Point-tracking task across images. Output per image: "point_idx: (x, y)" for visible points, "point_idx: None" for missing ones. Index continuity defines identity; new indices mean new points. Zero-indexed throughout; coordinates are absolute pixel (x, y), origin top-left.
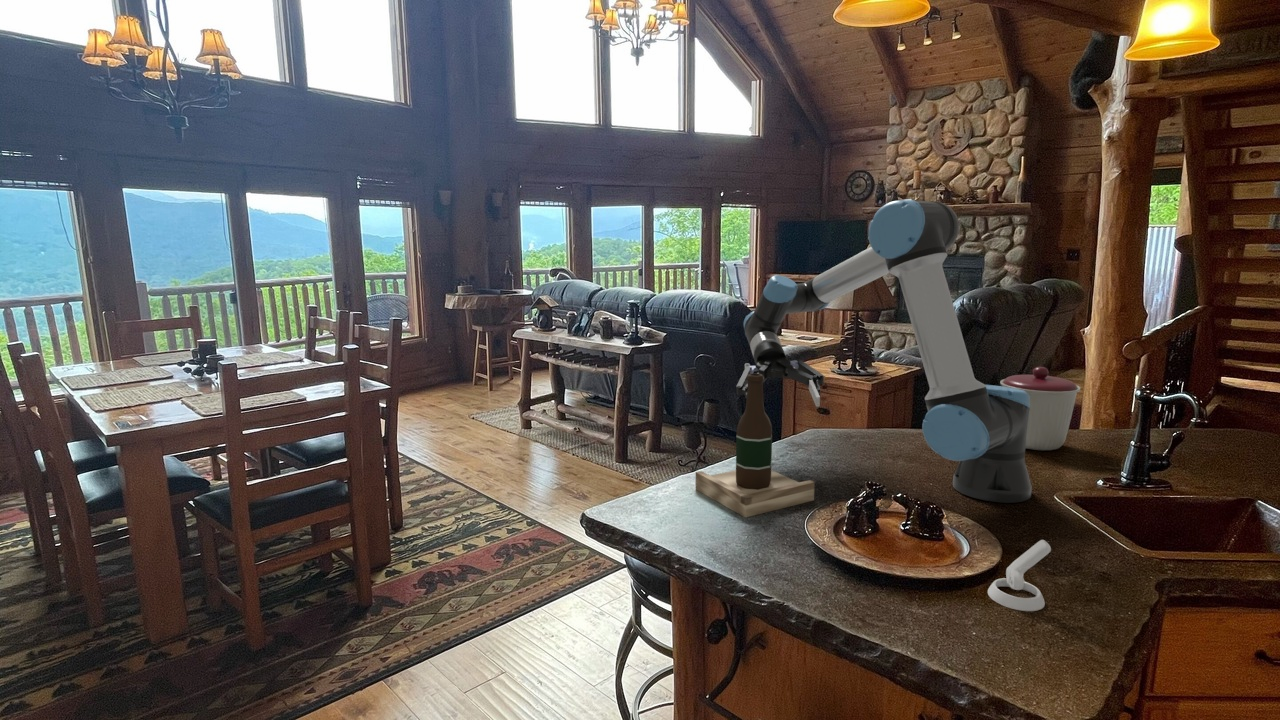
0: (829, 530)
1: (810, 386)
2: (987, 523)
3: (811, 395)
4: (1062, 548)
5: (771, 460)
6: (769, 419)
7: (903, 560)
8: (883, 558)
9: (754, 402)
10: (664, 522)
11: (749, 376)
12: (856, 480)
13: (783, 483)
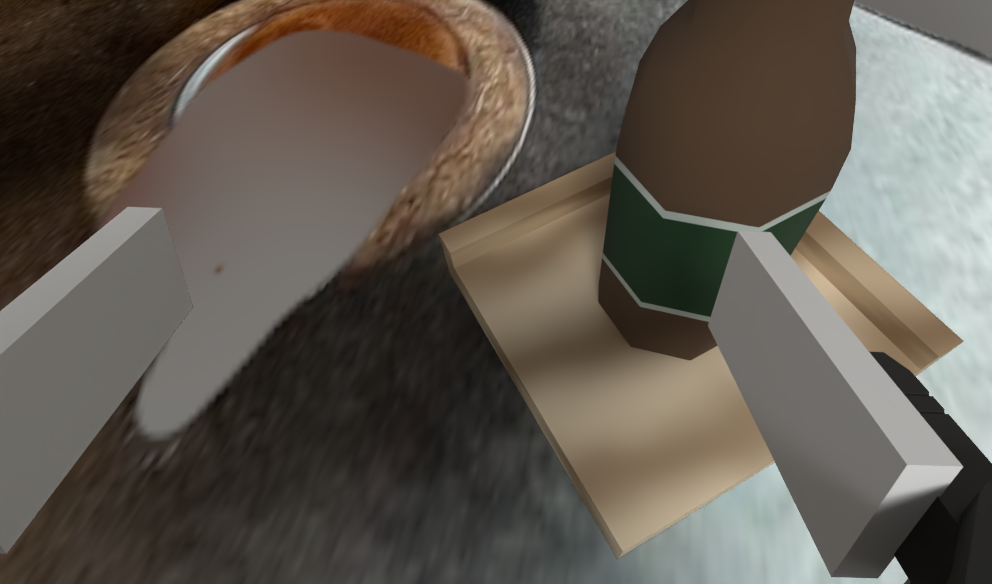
0: (473, 104)
1: (14, 405)
2: (69, 148)
3: (94, 435)
4: (37, 62)
5: (603, 250)
6: (645, 77)
7: (373, 11)
8: (407, 15)
9: None
10: (938, 124)
11: None
12: (195, 471)
13: (545, 299)
